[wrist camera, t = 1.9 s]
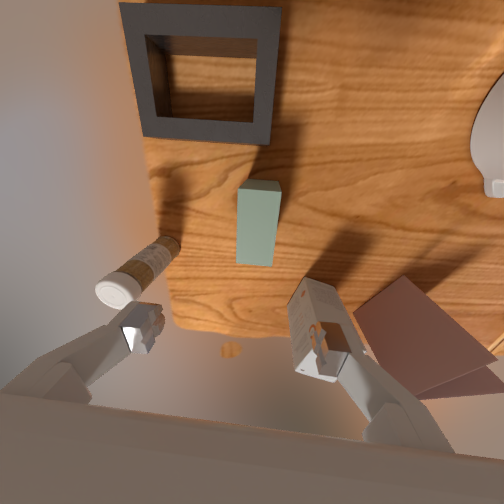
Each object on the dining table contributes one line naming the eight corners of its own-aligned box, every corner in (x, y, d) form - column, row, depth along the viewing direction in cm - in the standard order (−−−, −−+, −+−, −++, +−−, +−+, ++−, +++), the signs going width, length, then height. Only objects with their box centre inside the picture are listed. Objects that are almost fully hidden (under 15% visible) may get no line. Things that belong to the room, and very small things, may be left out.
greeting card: (353, 316, 37) (399, 405, 24) (346, 288, 34) (395, 372, 21) (418, 303, 34) (511, 396, 21) (417, 271, 31) (525, 356, 18)
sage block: (278, 181, 27) (281, 192, 19) (271, 237, 31) (271, 266, 23) (247, 178, 27) (237, 188, 19) (244, 235, 31) (236, 263, 23)
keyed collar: (279, 33, 20) (281, 7, 16) (269, 146, 25) (269, 144, 21) (144, 28, 20) (118, 2, 17) (161, 139, 25) (143, 136, 22)
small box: (314, 314, 38) (333, 384, 26) (286, 305, 37) (293, 372, 26) (335, 285, 34) (368, 352, 23) (304, 275, 34) (321, 337, 22)
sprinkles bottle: (157, 255, 34) (98, 307, 23) (155, 232, 32) (88, 277, 20) (181, 259, 34) (135, 313, 22) (180, 237, 32) (128, 284, 20)
